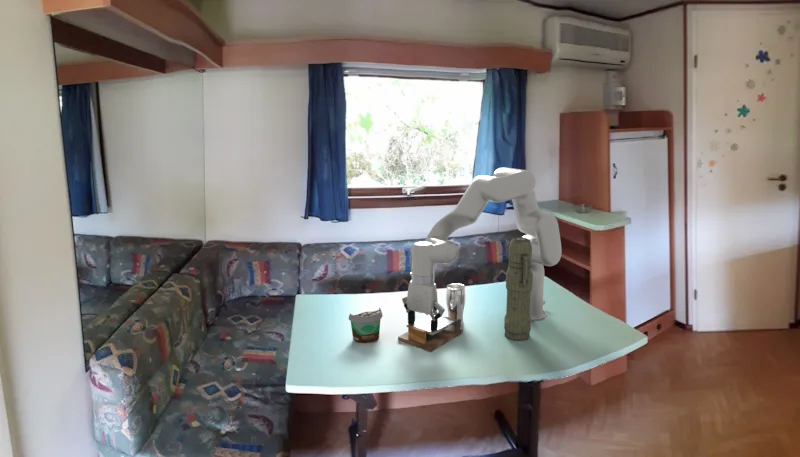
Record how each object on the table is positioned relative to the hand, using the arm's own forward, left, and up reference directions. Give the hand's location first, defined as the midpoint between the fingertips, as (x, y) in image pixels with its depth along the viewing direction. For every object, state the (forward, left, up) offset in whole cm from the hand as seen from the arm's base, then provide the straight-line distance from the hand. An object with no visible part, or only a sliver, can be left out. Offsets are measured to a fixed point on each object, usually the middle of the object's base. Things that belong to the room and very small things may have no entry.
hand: (422, 326), depth 172 cm
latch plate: (-4, 0, -5) cm, 7 cm away
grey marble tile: (-5, 0, -1) cm, 6 cm away
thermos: (-24, +23, -6) cm, 34 cm away
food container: (+11, -15, -6) cm, 19 cm away
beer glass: (-19, +1, -6) cm, 19 cm away
